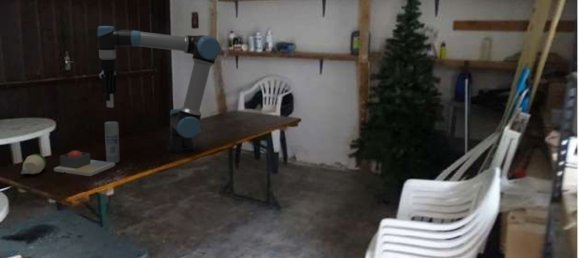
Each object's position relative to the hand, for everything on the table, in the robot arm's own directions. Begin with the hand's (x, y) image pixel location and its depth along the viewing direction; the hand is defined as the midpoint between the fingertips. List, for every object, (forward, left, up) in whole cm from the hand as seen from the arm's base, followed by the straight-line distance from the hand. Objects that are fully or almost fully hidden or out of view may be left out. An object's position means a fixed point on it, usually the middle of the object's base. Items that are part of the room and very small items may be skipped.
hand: (110, 106), depth 241 cm
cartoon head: (+21, +29, -28) cm, 45 cm away
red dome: (+9, +16, -27) cm, 32 cm away
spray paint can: (0, 0, -28) cm, 28 cm away
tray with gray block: (+5, +15, -28) cm, 32 cm away
